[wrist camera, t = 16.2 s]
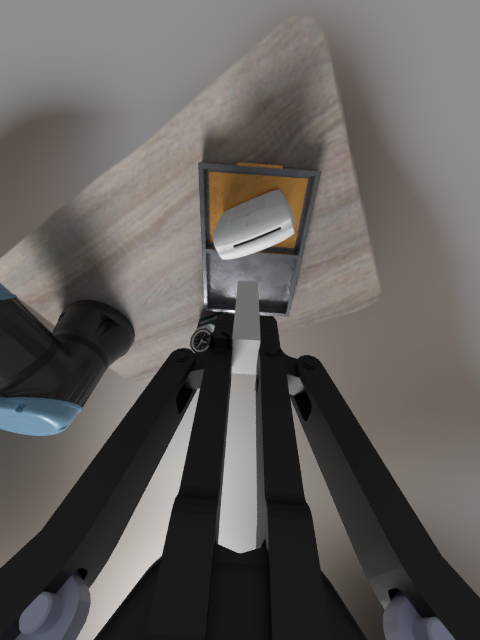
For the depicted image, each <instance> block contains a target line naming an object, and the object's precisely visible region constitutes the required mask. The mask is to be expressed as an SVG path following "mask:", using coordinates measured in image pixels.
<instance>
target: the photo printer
mask: <svg viewBox="0 0 480 640" xmlns="http://www.w3.org/2000/svg"><path fill="white" fill-rule="evenodd" d="M294 224H295V217H294V214H293V212H292V210H291V207H290V205H289V203H288V201H287V199H286V197H285V195H284V194H283V193H282V192H281V190H274V191H271V192H268V193H265V194H262V195H260V196H258V197H255V198H253V199H251V200H248V201H246V202H244V203H241V204H239V205H237V206H235V207H233V208H231V209H229V210H227V211H225V212H224V213H223V214H222V215H221V217H220V219H219V221H218V223H217V225H216V227H215V230H214V232H213V242H214V246H215V248H216V250H217V252H218V254H219V256H220V258H221V259H223V260H229V259H235V258H239V257H243V256H247V255H250V254H253V253H255V252H258V251H261V250H264V249H266V248H269V247H271V246H273V245H276V244H278V243H280V242H282V241H284V240H286V239H287V238H289V237H290V236H292V235H293V234H294Z"/></svg>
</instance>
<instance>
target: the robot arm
mask: <svg viewBox="0 0 480 640" xmlns="http://www.w3.org/2000/svg"><path fill="white" fill-rule="evenodd" d="M133 342H134V331H133V328H132V326H131V324H130V323H129V321H128V320H127V319H126V318H125V317H124V316H123V315H122V314H121V313H120V312H118V311H117V310H115V309H114V308H112V307H110V306H108V305H106V304H103V303H100V302H96V301H90V300H83V301H77V302H74V303H72V304H71V305H70V306H68V307H67V308H66V309H65V310H64V311H63V312H62V313H61V315H60V317H59V319H58V322H57V324H56V326H55V328H54V331H53V333H51V332H50V331H49V330H48V329H47V328H46V327H45V326H44V325H43V324H42V323H41V322H40V321H39V320H38V319H37V318H36V317H35V316H34V315H33V314H32V313H31V312H30V311H29V310H28V309H27V308H26V307H25V306H24V305H23V304H22V303H21V302H20V301H19V300H18V299H17V296H16V295H14V294H12V293H11V292H10V291H8V290H7V289H6V288H5V287H4V286H3V285H2V284H1V283H0V429H3V430H6V431H10V432H14V433H19V434H26V435H36V436H37V435H38V436H46V435H53V434H57V433H60V432H62V431H64V430H65V429H66V428H68V426H69V425H70V424H71V423H72V421H73V420H74V419H75V417H76V416H77V415H78V413H79V412H81V410H82V407H83V406H84V404H85V402H86V401H87V399H88V398H89V396H90V395H91V393H92V391H93V390H94V388H95V387H96V385H97V384H98V382H99V380H100V379H101V377H102V376H103V374H104V373H105V371H106V369H107V368H108V367H109V366H110V365H111V364H112V363H113V362H115V361H116V360H117V359H118V358H119V357H121V356H123V355H124V354H126V353H127V351H128V350H129V349H130V347H131V345H132V344H133ZM231 373H240V374H257V375H256V383H255V390H256V439H257V440H256V448H257V449H256V450H257V535H256V536H257V537H256V540H257V541H256V549H255V550H252V551H248V552H245V553H236V552H234V551H232V550H230V549H227V548H225V547H223V546H221V545H218V534H219V519H220V506H221V495H222V483H223V471H224V458H225V447H226V435H227V423H228V410H229V398H230V387H231ZM198 388H200V392H199V397H198V402H197V407H196V412H195V417H194V422H193V426H192V431H191V436H190V441H189V446H188V451H187V456H186V461H185V466H184V470H183V475H182V480H181V485H180V489H179V493H178V495H177V497H176V498H175V501H174V504H173V508H172V512H171V517H170V521H169V526H168V531H167V535H166V540H165V545H164V549H163V554H162V556H161V557H160V558H159V559H158V560H157V561H156V562H155V563H154V564H153V565H152V566H151V567H150V568H149V569H148V570H147V571H146V572H145V574H144V575H143V577H142V578H141V579H140V580H139V581H138V583H137V584H136V585H135V587H134V588H133V589H132V591H131V592H130V593H129V595H128V596H127V597H126V599H125V600H124V601H123V602H122V604H121V605H120V606H119V608H118V609H117V610H116V611H115V613H114V614H113V615H112V617H111V618H110V619H109V620H108V622H107V623H106V624H105V626H104V627H103V629H102V630H101V631H100V632H99V633H98V635H97V636H96V637H95V639H94V640H368V639H367V638H366V636H365V635H364V633H363V632H362V630H361V629H360V627H359V626H358V624H357V622H356V621H355V619H354V618H353V616H352V615H351V613H350V612H349V610H348V609H347V607H346V606H345V604H344V602H343V601H342V599H341V598H340V596H339V595H338V593H337V591H336V590H335V589H334V587H333V585H332V584H331V582H330V581H329V580H328V578H327V577H326V576H325V575H324V573H323V572H322V571H321V569H320V563H319V557H318V550H317V544H316V538H315V531H314V525H313V519H312V515H311V511H310V508H309V506H308V504H307V503H306V500H305V497H304V491H303V484H302V477H301V470H300V463H299V456H298V449H297V443H296V436H295V429H294V422H293V415H292V408H291V401H292V403H293V406H294V408H295V410H296V413H297V415H298V417H299V420H300V422H301V425H302V427H303V429H304V432H305V434H306V436H307V439H308V441H309V443H310V446H311V448H312V451H313V453H314V455H315V457H316V460H317V463H318V465H319V467H320V470H321V472H322V474H323V477H324V479H325V482H326V484H327V486H328V489H329V491H330V493H331V496H332V498H333V501H334V503H335V505H336V508H337V510H338V512H339V515H340V517H341V519H342V522H343V524H344V527H345V529H346V531H347V534H348V536H349V538H350V541H351V543H352V545H353V548H354V550H355V553H356V555H357V557H358V560H359V562H360V564H361V566H362V568H363V571H364V573H365V575H366V577H367V579H368V581H369V583H370V585H371V586H372V588H373V590H374V592H375V594H376V596H377V597H378V599H379V601H380V602H381V604H382V606H383V607H384V609H385V612H384V616H383V627H384V634H385V637H386V640H480V598H479V597H478V595H477V594H476V593H475V592H474V591H473V590H472V589H471V588H470V587H469V586H468V584H467V583H466V582H465V581H464V580H463V579H462V578H461V577H460V576H459V575H458V574H457V572H456V571H455V570H454V569H453V568H452V567H451V566H450V565H449V564H448V562H447V561H446V560H445V559H444V558H443V557H442V556H441V554H440V552H439V551H438V549H437V548H436V546H435V544H434V543H433V541H432V540H431V538H430V536H429V535H428V533H427V532H426V530H425V528H424V527H423V525H422V524H421V522H420V520H419V519H418V517H417V516H416V514H415V512H414V511H413V509H412V508H411V506H410V504H409V503H408V501H407V500H406V498H405V496H404V495H403V493H402V492H401V490H400V488H399V487H398V485H397V484H396V482H395V480H394V479H393V477H392V475H391V474H390V472H389V471H388V469H387V468H386V466H385V464H384V463H383V461H382V459H381V458H380V456H379V455H378V453H377V451H376V450H375V448H374V447H373V445H372V444H371V442H370V440H369V439H368V437H367V436H366V434H365V432H364V431H363V429H362V427H361V426H360V424H359V423H358V421H357V419H356V418H355V416H354V415H353V413H352V411H351V410H350V408H349V407H348V405H347V404H346V402H345V400H344V399H343V397H342V395H341V394H340V392H339V391H338V389H337V387H336V386H335V384H334V383H333V381H332V379H331V378H330V376H329V375H328V373H327V371H326V370H325V368H324V367H323V365H322V363H321V362H320V361H319V360H318V359H317V358H315V357H313V356H310V355H304V356H301V357H299V358H298V359H296V358H292V357H289V356H287V355H286V354H285V353H283V351H282V349H281V348H280V341H279V334H278V327H277V321H276V320H275V318H274V317H273V316H261V315H259V294H258V282H252V281H238V286H237V296H236V306H235V314H220V315H219V316H218V317H217V318H216V322H215V327H214V332H212V333H211V334H210V335H209V336H208V349H206V350H204V351H202V352H197V353H193V351H192V350H190V349H187V348H181V349H177V350H175V351H173V352H172V353H171V354H170V356H169V357H168V358H167V360H166V361H165V362H164V364H163V365H162V367H161V368H160V369H159V371H158V372H157V373H156V375H155V376H154V377H153V379H152V380H151V382H150V383H149V384H148V386H147V387H146V389H145V390H144V391H143V392H142V394H141V395H140V397H139V398H138V399H137V401H136V402H135V404H134V405H133V407H131V409H130V410H129V412H128V413H127V414H126V416H125V417H124V418H123V420H122V421H121V423H120V424H119V425H118V427H117V428H116V429H115V431H114V432H113V433H112V435H111V436H110V438H109V439H108V440H107V442H106V443H105V444H104V446H103V447H102V448H101V450H100V451H99V453H98V454H97V455H96V457H95V458H94V459H93V461H92V462H91V464H90V465H89V466H88V468H87V469H86V470H85V472H84V473H83V475H82V476H81V477H80V478H79V480H78V481H77V483H76V484H75V485H74V487H73V488H72V489H71V491H70V492H69V493H68V495H67V496H66V498H65V499H64V500H63V502H62V503H61V504H60V506H59V507H58V508H57V510H56V511H55V513H54V514H53V515H52V517H51V518H50V519H49V521H48V522H47V524H46V525H45V526H44V528H43V529H42V530H41V531H40V532H39V533H38V534H37V535H36V536H35V537H34V538H33V539H32V540H30V541H29V542H28V543H27V544H26V545H25V546H24V547H23V548H22V549H21V550H20V551H19V552H18V553H17V554H16V555H14V556H13V557H12V558H11V559H10V560H9V561H8V562H7V563H6V564H5V565H4V566H2V567H1V568H0V640H76V638H77V637H78V635H79V633H80V631H81V629H82V627H83V625H84V624H85V622H86V619H87V616H88V613H89V608H90V592H89V587H90V586H91V585H92V583H93V582H94V581H95V579H96V578H97V576H98V575H99V573H100V572H101V570H102V569H103V567H104V566H105V564H106V563H107V561H108V559H109V557H110V556H111V554H112V552H113V550H114V549H115V547H116V545H117V543H118V541H119V539H120V537H121V536H122V534H123V532H124V530H125V528H126V526H127V524H128V522H129V520H130V518H131V516H132V514H133V512H134V510H135V508H136V507H137V505H138V503H139V501H140V499H141V497H142V495H143V493H144V491H145V489H146V487H147V485H148V483H149V481H150V479H151V477H152V476H153V474H154V472H155V470H156V468H157V466H158V464H159V462H160V460H161V458H162V456H163V454H164V453H165V451H166V449H167V447H168V444H169V443H170V441H171V439H172V437H173V435H174V433H175V431H176V429H177V427H178V425H179V424H180V422H181V420H182V418H183V416H184V414H185V412H186V410H187V408H188V406H189V404H190V402H191V400H192V398H193V397H194V395H195V393H196V391H197V389H198ZM290 399H291V401H290Z"/></svg>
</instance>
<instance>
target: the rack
mask: <svg viewBox="0 0 480 640" xmlns="http://www.w3.org/2000/svg"><path fill="white" fill-rule="evenodd" d="M198 169H199V192H200V215H201V238H202V261H203V284H204V308H205V311H217V312H230V313H235V306H236V296H237V286H238V281H252V282H258V294H259V315H272V316H285V317H289V313H290V309H291V304H292V300H293V295H294V291H295V286H296V282H297V277H298V273H299V268H300V264H301V259H302V255H303V250H304V246H305V241H306V237H307V232H308V228H309V223H310V219H311V215H312V210H313V206H314V201H315V197H316V192H317V188H318V183H319V179H320V174H321V171H319V170H317V169H307V168H293V167H283V166H282V165H277V164H262V163H248V162H237V164H235V163H221V162H207V161H201V162H199V163H198ZM274 190H281V192H282V193H283V194H284V195H285V197H286V199H287V201H288V203H289V205H290V207H291V210H292V212H293V214H294V217H295V224H294V234H293V235H292V236H290V237H289V238H287V239H286V240H284V241H282V242H280V243H278V244H276V245H273V246H271V247H269V248H266V249H264V250H261V251H258V252H255V253H253V254H250V255H247V256H243V257H239V258H235V259H229V260H223V259H221V258H220V256H219V254H218V252H217V250H216V248H215V246H214V242H213V232H214V230H215V227H216V225H217V223H218V221H219V219H220V217H221V215H222V214H223V213H224V212H225V211H227V210H229V209H231V208H233V207H235V206H237V205H239V204H241V203H244V202H246V201H248V200H251V199H253V198H255V197H258V196H260V195H262V194H265V193H268V192H271V191H274Z"/></svg>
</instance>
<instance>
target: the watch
mask: <svg viewBox="0 0 480 640" xmlns="http://www.w3.org/2000/svg"><path fill="white" fill-rule="evenodd" d="M220 314H224V313H223V312H218V313H216V314H213V315H210V316H208V317H205V318H202V319H200V320H199V323H198V326H197V330H195V332H194V334H193V335H192V337H191V340H190V344H189V346H190V348H191V349H192V351H193V352H194V353H197V352H202V351H204V350H206V349H208V336H209V335H210V334H211V333H212V332H214V327H215V322H216V318H217V317H218V316H219V315H220Z"/></svg>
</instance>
